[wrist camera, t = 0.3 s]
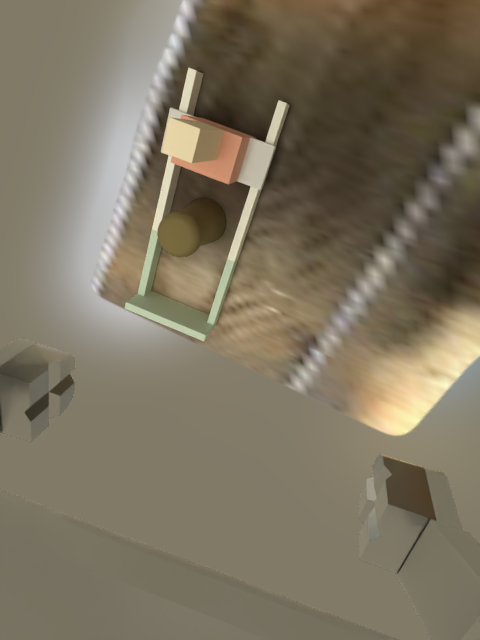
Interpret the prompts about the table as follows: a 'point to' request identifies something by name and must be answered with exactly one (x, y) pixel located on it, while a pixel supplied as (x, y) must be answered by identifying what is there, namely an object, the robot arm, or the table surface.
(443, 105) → the table surface
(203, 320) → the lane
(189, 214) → the olive rounded upright piece
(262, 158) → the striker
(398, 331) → the table surface
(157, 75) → the table surface
